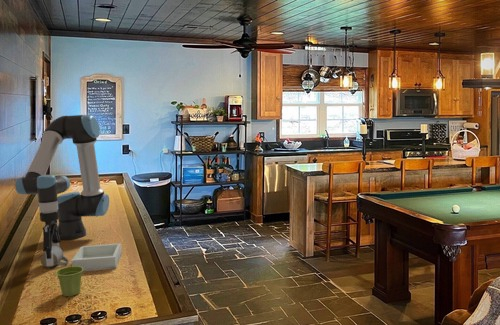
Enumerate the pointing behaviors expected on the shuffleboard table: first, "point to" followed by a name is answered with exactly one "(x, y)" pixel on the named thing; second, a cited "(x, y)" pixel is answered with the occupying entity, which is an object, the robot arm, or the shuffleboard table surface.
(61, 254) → the ceramic mug
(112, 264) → the bin
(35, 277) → the shuffleboard table surface
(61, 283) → the plant pot
